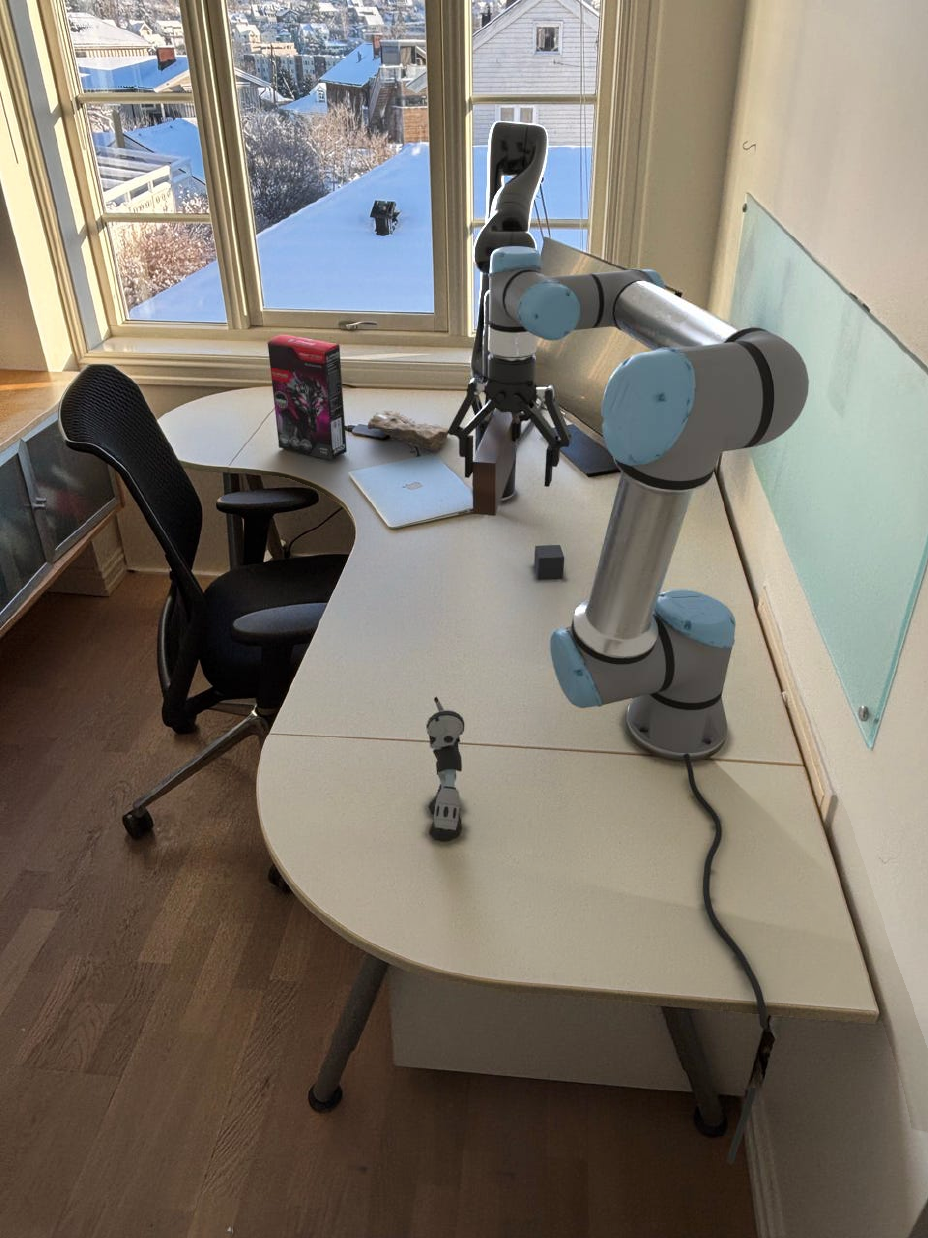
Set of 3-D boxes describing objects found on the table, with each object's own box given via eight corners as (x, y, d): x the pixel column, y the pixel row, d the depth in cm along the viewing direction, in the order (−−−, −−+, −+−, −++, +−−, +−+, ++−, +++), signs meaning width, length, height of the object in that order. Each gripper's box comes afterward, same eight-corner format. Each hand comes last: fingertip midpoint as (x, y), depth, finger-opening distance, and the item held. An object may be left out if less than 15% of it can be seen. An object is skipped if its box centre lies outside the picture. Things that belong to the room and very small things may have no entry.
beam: (495, 515, 161) (495, 463, 155) (472, 514, 162) (472, 461, 156) (515, 458, 181) (516, 409, 175) (495, 456, 181) (495, 408, 175)
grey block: (562, 579, 180) (564, 557, 178) (537, 580, 180) (538, 558, 177) (558, 566, 184) (560, 544, 182) (533, 567, 184) (535, 545, 181)
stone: (352, 434, 231) (356, 410, 229) (373, 426, 244) (377, 403, 242) (430, 458, 227) (435, 434, 225) (447, 448, 241) (452, 426, 238)
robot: (467, 874, 119) (468, 759, 108) (429, 876, 119) (427, 760, 108) (460, 769, 135) (460, 659, 124) (426, 770, 135) (424, 660, 124)
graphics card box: (276, 448, 231) (264, 340, 216) (293, 439, 236) (282, 332, 221) (333, 462, 225) (324, 351, 209) (349, 452, 230) (341, 343, 214)
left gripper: (546, 345, 167) (543, 434, 177) (470, 340, 170) (470, 428, 180) (539, 358, 161) (536, 450, 171) (460, 353, 164) (461, 443, 173)
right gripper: (595, 352, 144) (585, 477, 156) (441, 340, 149) (442, 462, 161) (588, 367, 138) (578, 496, 150) (428, 353, 143) (430, 479, 155)
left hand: (502, 438), depth 175 cm, fingers closed on beam, 4 cm apart
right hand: (508, 479), depth 155 cm, fingers open, 13 cm apart
